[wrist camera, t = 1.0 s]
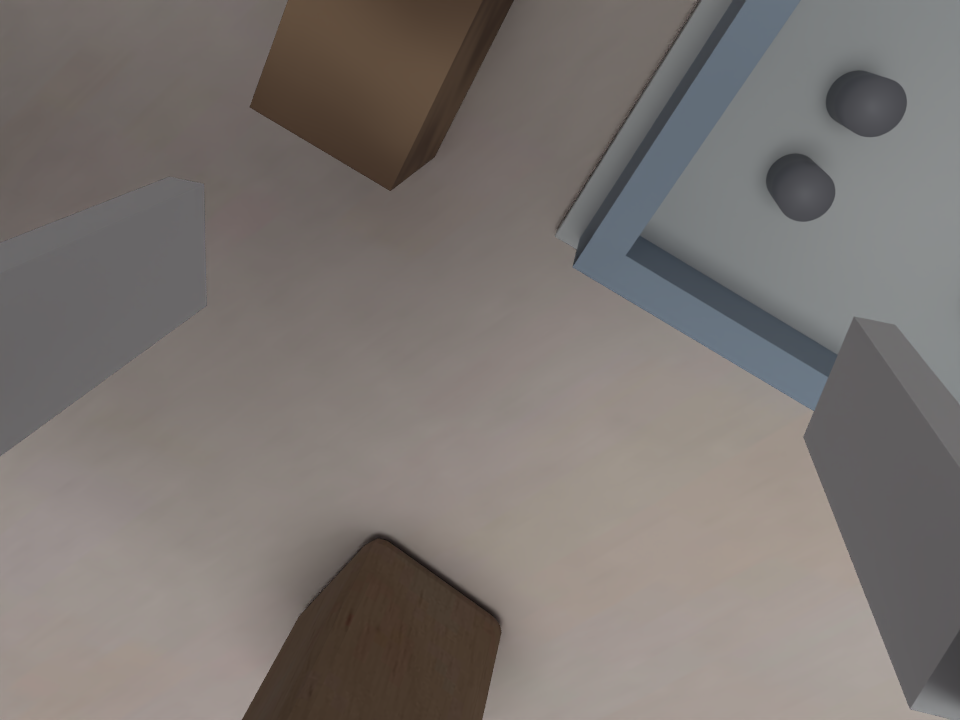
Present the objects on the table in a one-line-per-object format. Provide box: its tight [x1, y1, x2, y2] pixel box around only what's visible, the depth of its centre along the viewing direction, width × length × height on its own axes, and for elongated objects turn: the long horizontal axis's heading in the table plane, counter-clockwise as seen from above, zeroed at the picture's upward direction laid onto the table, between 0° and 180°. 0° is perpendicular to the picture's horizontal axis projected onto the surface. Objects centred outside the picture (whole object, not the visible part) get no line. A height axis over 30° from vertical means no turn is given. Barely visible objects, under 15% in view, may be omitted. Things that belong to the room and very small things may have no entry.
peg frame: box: [555, 0, 960, 411], centre depth 29 cm, size 24×18×5 cm
